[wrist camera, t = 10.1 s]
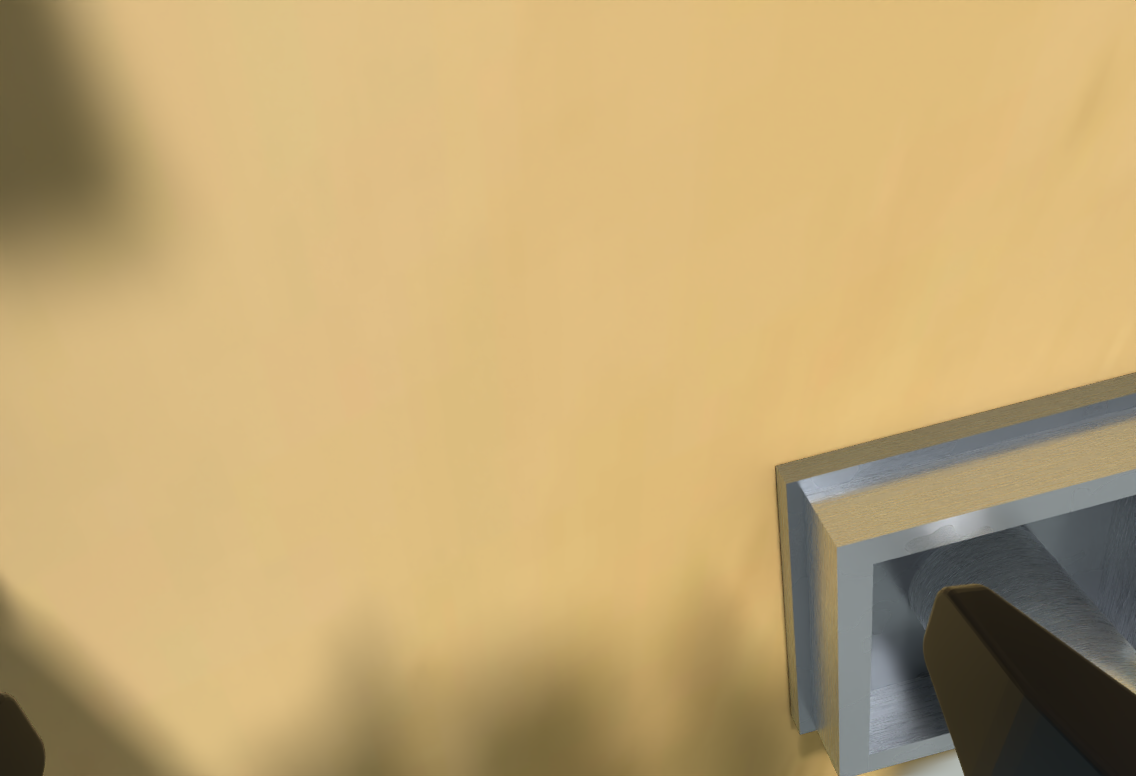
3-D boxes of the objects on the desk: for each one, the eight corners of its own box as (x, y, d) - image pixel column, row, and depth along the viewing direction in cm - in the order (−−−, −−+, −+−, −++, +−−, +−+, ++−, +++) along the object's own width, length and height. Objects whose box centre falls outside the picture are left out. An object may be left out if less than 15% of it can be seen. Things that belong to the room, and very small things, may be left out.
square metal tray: (791, 715, 32) (825, 792, 30) (775, 465, 25) (818, 538, 23) (1106, 630, 32) (1166, 698, 30) (1175, 362, 26) (1259, 422, 23)
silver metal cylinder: (890, 627, 29) (1168, 1086, 19) (937, 525, 26) (1284, 986, 16) (1008, 621, 30) (1335, 1055, 20) (1063, 522, 27) (1468, 956, 17)
